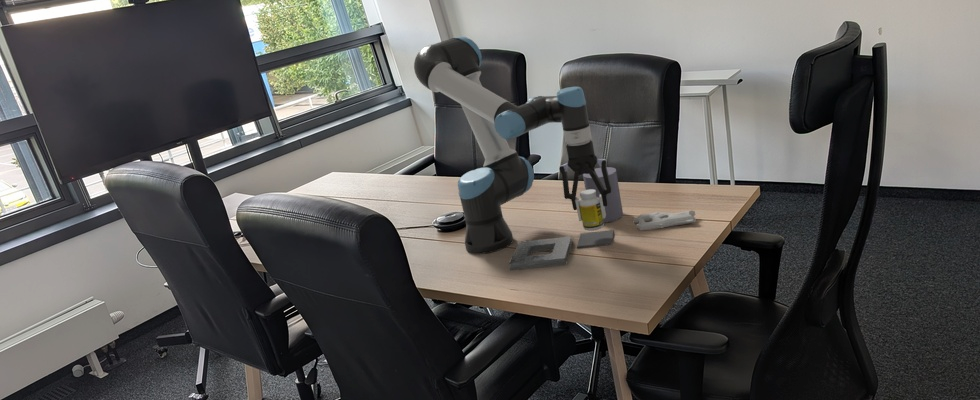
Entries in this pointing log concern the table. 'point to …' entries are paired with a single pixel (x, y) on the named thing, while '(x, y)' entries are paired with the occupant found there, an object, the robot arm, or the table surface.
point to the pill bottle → (590, 210)
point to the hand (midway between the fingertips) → (592, 217)
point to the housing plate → (558, 256)
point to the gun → (663, 220)
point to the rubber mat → (595, 239)
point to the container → (613, 198)
